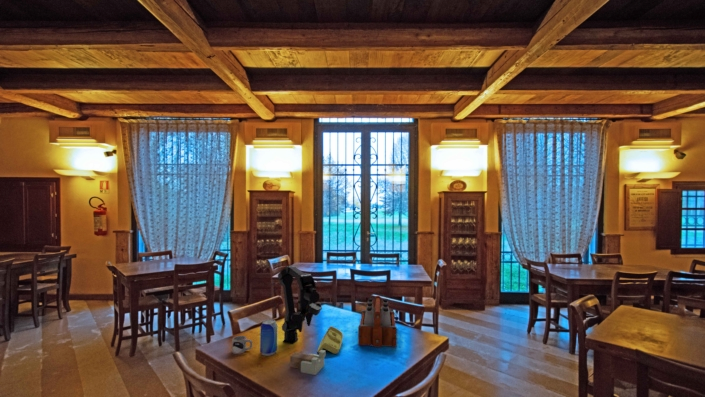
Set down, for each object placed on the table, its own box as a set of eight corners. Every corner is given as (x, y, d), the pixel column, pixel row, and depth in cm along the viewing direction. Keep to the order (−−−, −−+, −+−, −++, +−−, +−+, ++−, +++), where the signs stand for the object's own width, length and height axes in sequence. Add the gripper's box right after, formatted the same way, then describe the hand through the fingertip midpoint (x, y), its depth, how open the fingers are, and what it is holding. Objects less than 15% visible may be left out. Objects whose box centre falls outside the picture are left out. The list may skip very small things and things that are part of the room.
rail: (290, 366, 151) (290, 356, 151) (294, 363, 155) (294, 352, 155) (313, 371, 147) (313, 360, 147) (316, 367, 151) (317, 356, 151)
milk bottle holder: (357, 347, 173) (358, 311, 173) (361, 324, 207) (361, 294, 208) (397, 349, 171) (397, 313, 171) (394, 326, 206) (394, 295, 206)
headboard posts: (300, 372, 146) (300, 357, 146) (310, 362, 155) (310, 347, 156) (316, 375, 143) (316, 360, 143) (325, 365, 153) (325, 350, 153)
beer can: (280, 350, 168) (280, 319, 168) (270, 357, 160) (271, 325, 160) (266, 348, 171) (266, 317, 171) (256, 355, 163) (257, 323, 163)
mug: (230, 354, 163) (230, 341, 164) (234, 348, 170) (234, 335, 170) (250, 353, 164) (250, 340, 164) (253, 348, 171) (253, 335, 171)
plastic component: (339, 350, 164) (322, 341, 164) (333, 362, 164) (316, 353, 165) (344, 332, 183) (328, 324, 184) (338, 343, 184) (323, 335, 185)
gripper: (310, 305, 156) (310, 337, 155) (326, 295, 173) (326, 324, 173) (290, 302, 159) (290, 334, 159) (308, 293, 177) (307, 322, 176)
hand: (304, 328), depth 167 cm, fingers open, 9 cm apart
